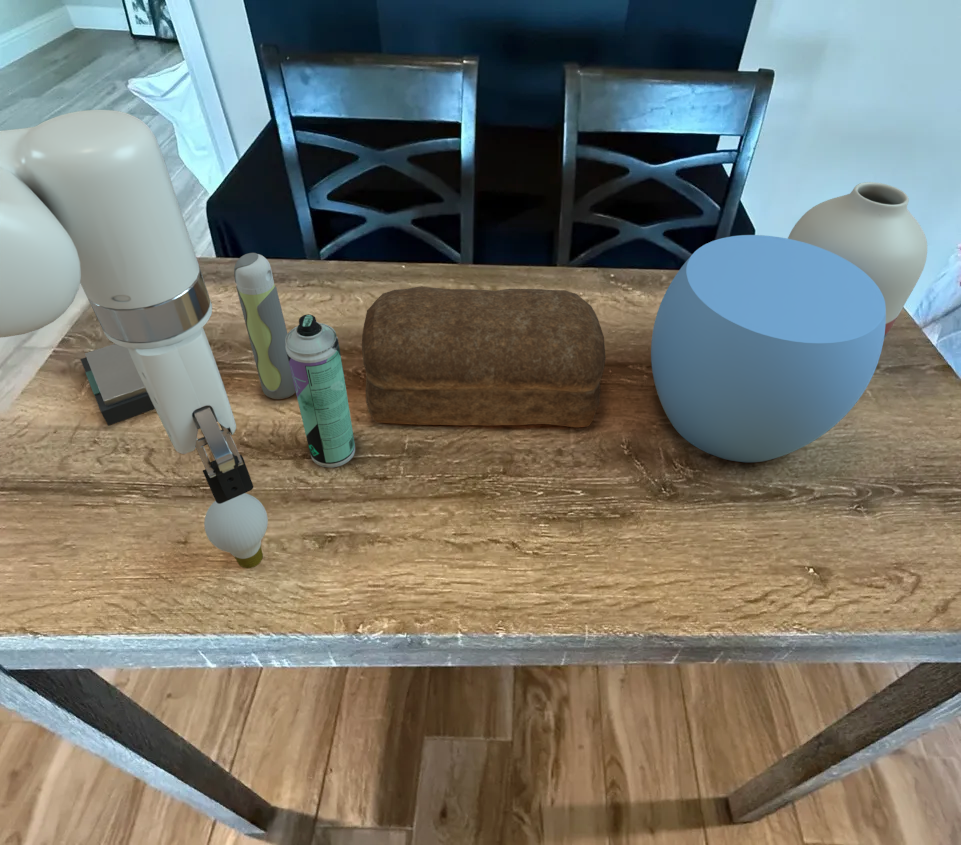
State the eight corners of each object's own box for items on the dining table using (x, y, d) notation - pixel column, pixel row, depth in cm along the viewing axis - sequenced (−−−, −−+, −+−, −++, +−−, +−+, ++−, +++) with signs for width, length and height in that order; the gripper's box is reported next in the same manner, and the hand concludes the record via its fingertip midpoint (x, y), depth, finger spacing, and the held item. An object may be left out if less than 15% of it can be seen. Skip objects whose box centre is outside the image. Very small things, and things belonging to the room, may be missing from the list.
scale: (108, 426, 85) (97, 406, 83) (87, 373, 92) (77, 353, 90) (217, 386, 91) (211, 366, 88) (190, 339, 98) (183, 319, 95)
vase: (761, 299, 109) (817, 153, 92) (874, 328, 104) (954, 180, 87) (743, 359, 98) (802, 206, 81) (868, 395, 93) (959, 241, 76)
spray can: (347, 429, 86) (325, 298, 72) (361, 459, 82) (341, 327, 68) (305, 443, 84) (273, 310, 70) (317, 473, 80) (287, 341, 66)
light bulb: (238, 534, 74) (215, 475, 67) (289, 544, 73) (271, 485, 66) (212, 580, 70) (185, 522, 63) (266, 591, 69) (244, 534, 62)
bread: (600, 434, 86) (618, 354, 77) (361, 429, 86) (349, 348, 76) (586, 350, 98) (600, 272, 89) (376, 345, 98) (368, 266, 88)
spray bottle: (290, 404, 89) (259, 273, 75) (256, 397, 89) (218, 266, 75) (306, 380, 92) (278, 250, 78) (273, 374, 93) (240, 244, 79)
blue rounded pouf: (865, 483, 81) (953, 352, 67) (662, 491, 80) (707, 358, 65) (785, 352, 99) (841, 226, 85) (618, 356, 97) (646, 228, 83)
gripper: (71, 259, 52) (147, 417, 64) (128, 389, 42) (205, 546, 54) (170, 232, 55) (225, 387, 67) (246, 347, 45) (294, 505, 57)
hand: (216, 458), depth 60 cm, fingers open, 9 cm apart
